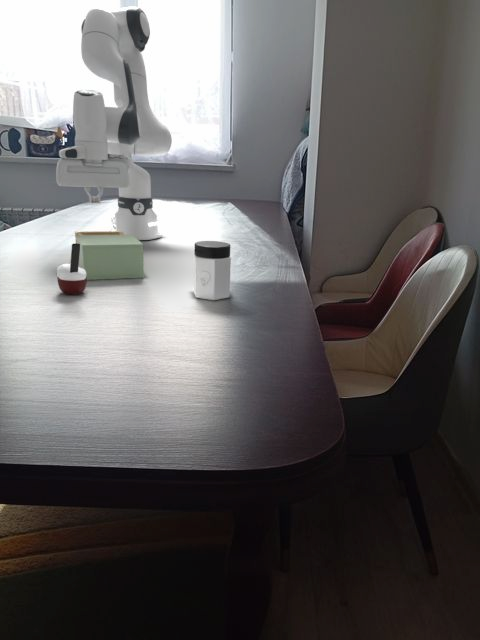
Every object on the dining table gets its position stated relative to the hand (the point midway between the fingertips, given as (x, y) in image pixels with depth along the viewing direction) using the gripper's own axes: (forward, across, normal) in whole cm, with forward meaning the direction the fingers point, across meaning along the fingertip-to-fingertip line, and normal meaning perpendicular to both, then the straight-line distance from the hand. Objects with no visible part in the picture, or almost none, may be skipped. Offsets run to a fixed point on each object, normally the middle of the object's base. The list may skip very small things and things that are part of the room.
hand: (94, 203), depth 151 cm
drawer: (+14, 0, +10) cm, 17 cm away
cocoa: (+16, +11, +44) cm, 48 cm away
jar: (+16, -19, +52) cm, 57 cm away
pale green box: (+15, 0, +25) cm, 29 cm away
